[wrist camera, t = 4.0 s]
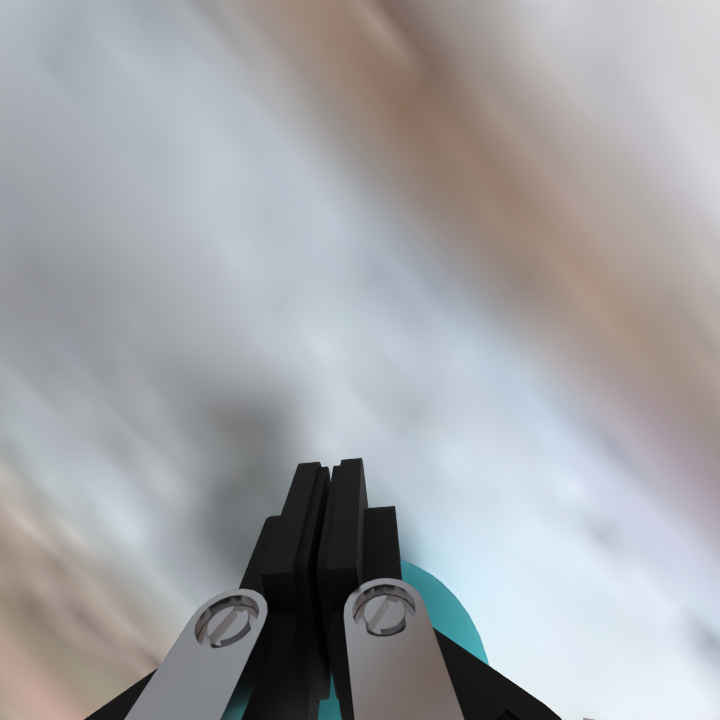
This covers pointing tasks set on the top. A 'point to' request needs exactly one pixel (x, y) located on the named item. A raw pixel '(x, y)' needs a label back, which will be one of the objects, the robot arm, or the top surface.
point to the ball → (443, 617)
